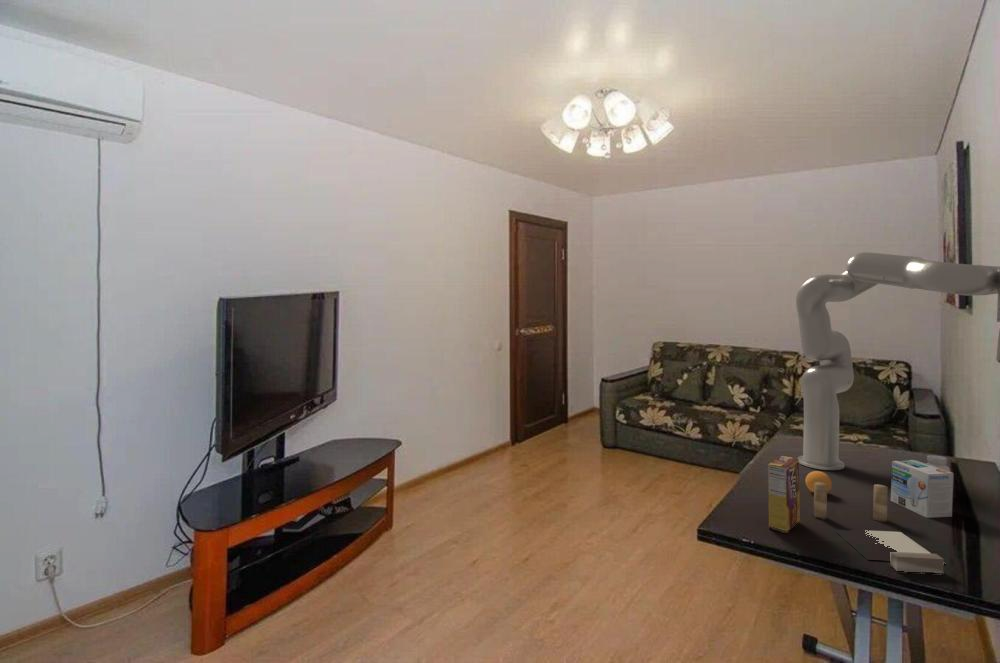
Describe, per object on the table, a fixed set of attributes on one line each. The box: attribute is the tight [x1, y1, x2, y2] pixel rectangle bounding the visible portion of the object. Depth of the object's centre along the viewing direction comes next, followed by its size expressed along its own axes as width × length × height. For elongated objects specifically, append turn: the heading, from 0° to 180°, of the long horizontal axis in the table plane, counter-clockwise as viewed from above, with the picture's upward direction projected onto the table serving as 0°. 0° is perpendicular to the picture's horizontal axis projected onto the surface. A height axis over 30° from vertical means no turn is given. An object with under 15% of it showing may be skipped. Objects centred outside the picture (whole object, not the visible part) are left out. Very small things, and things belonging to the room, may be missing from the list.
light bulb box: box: [890, 459, 954, 519], centre depth 126 cm, size 11×7×11 cm, turn 5°
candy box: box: [767, 455, 801, 531], centre depth 117 cm, size 9×4×15 cm, turn 133°
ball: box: [805, 470, 832, 493], centre depth 137 cm, size 6×6×6 cm
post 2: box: [872, 484, 889, 523], centre depth 120 cm, size 3×3×8 cm
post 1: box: [813, 482, 828, 519], centre depth 122 cm, size 3×3×8 cm
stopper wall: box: [889, 552, 945, 574], centre depth 97 cm, size 2×8×3 cm, turn 81°
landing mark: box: [864, 529, 932, 554], centre depth 107 cm, size 14×14×1 cm
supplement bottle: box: [924, 454, 951, 472], centre depth 136 cm, size 5×5×10 cm
